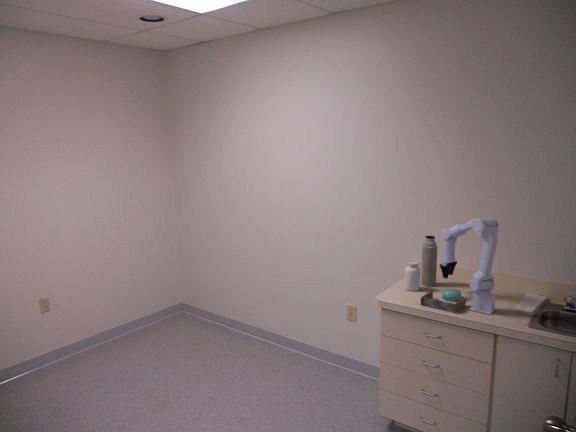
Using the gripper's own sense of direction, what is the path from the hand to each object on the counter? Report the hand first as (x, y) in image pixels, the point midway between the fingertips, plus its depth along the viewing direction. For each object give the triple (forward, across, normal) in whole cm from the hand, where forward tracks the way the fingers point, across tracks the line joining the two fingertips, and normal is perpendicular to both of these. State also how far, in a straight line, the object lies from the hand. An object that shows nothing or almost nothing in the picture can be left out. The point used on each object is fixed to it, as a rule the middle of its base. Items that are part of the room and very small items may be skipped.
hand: (447, 276), depth 222 cm
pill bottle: (+10, +3, -18) cm, 21 cm away
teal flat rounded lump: (+10, +6, +4) cm, 12 cm away
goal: (+10, +18, +4) cm, 21 cm away
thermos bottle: (+10, -10, -14) cm, 19 cm away
